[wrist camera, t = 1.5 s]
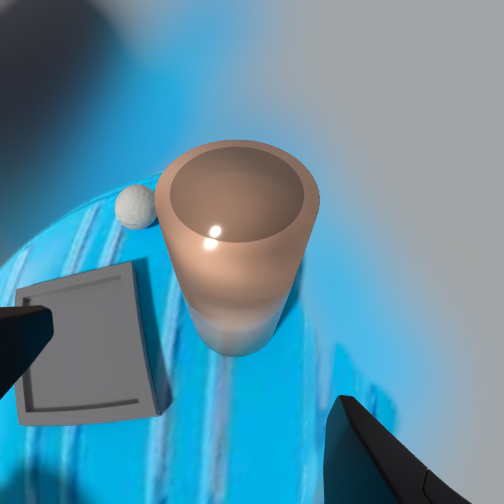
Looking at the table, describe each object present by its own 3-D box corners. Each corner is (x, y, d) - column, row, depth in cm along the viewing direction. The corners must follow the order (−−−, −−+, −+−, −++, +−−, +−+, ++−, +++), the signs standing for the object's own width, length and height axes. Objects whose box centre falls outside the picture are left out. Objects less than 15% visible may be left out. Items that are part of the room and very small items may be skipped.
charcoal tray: (160, 415, 17) (156, 415, 16) (27, 426, 15) (19, 424, 14) (135, 268, 23) (131, 261, 22) (22, 295, 21) (16, 289, 20)
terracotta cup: (288, 343, 21) (348, 235, 10) (204, 366, 20) (164, 277, 9) (262, 271, 24) (284, 132, 13) (186, 289, 23) (149, 153, 12)
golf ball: (167, 230, 26) (158, 200, 22) (125, 244, 25) (111, 215, 21) (157, 200, 28) (150, 169, 24) (119, 212, 27) (107, 183, 23)
